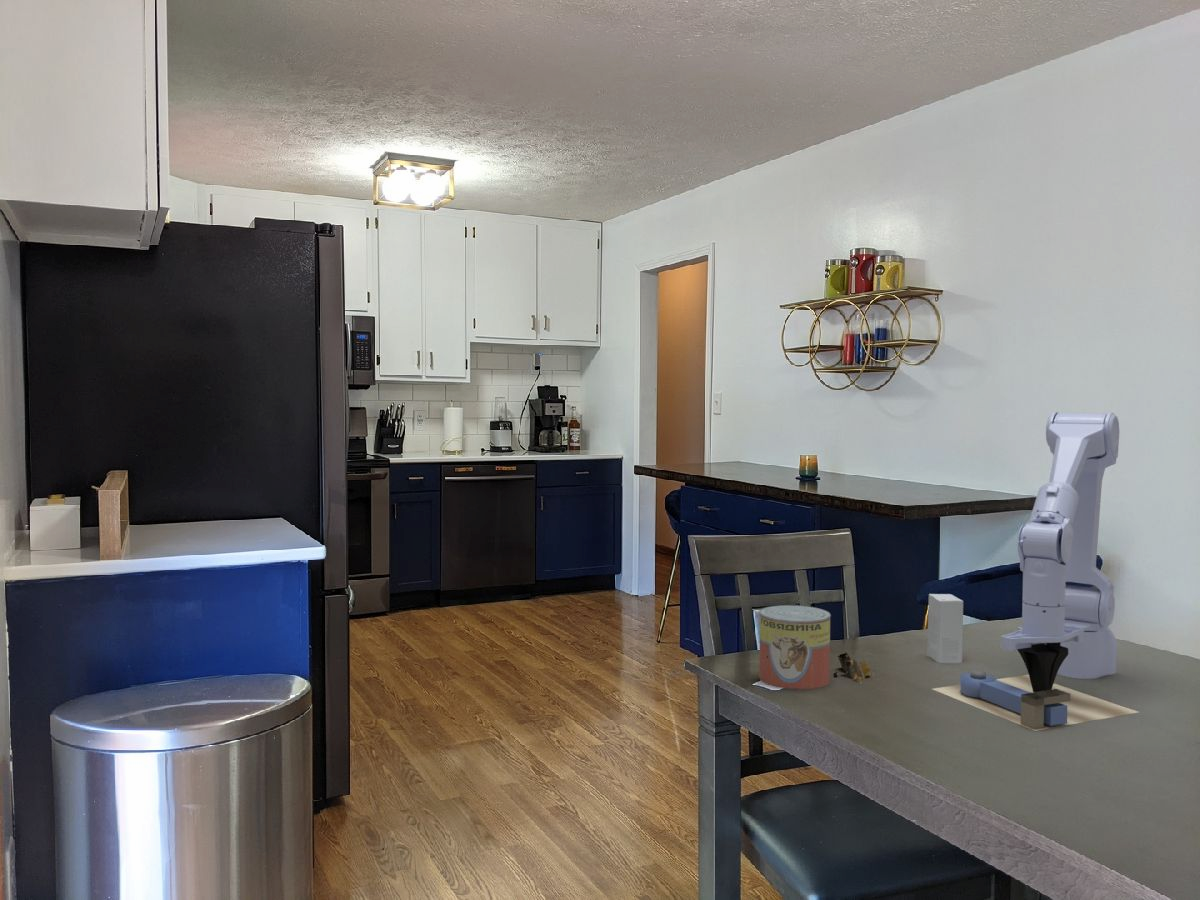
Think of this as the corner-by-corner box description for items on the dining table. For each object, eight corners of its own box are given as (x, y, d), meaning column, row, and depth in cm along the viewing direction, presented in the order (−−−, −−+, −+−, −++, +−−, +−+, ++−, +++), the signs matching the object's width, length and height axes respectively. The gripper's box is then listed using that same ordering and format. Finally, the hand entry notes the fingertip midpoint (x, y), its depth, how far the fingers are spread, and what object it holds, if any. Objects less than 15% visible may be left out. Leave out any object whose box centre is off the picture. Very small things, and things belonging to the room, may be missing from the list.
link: (953, 689, 143) (953, 669, 143) (978, 686, 145) (978, 666, 145) (1045, 726, 127) (1045, 703, 127) (1072, 722, 129) (1073, 699, 128)
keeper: (1055, 726, 131) (1056, 688, 131) (1069, 732, 129) (1070, 693, 129) (1020, 732, 129) (1021, 694, 128) (1034, 738, 127) (1035, 699, 126)
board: (1027, 681, 152) (1027, 674, 152) (1139, 720, 134) (1139, 712, 134) (931, 696, 145) (931, 688, 145) (1035, 739, 126) (1035, 730, 126)
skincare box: (963, 670, 159) (964, 600, 158) (937, 669, 159) (939, 600, 159) (950, 660, 165) (951, 593, 165) (926, 660, 165) (927, 593, 165)
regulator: (884, 707, 142) (867, 664, 156) (877, 685, 141) (860, 643, 156) (837, 721, 143) (824, 676, 158) (829, 698, 143) (817, 656, 157)
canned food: (753, 692, 147) (753, 617, 146) (764, 673, 157) (765, 603, 157) (826, 700, 143) (827, 623, 142) (833, 679, 154) (833, 607, 153)
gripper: (1057, 593, 144) (1055, 680, 145) (985, 601, 139) (983, 691, 140) (1096, 603, 138) (1094, 693, 139) (1023, 611, 132) (1021, 705, 133)
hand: (1041, 693), depth 139 cm, fingers closed
